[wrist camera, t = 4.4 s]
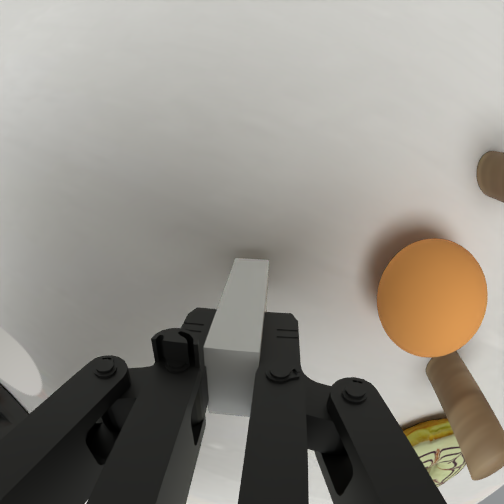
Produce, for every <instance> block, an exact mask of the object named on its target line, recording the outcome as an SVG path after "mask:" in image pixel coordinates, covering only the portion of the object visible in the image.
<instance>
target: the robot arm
mask: <svg viewBox="0 0 504 504" xmlns="http://www.w3.org/2000/svg"><path fill="white" fill-rule="evenodd" d="M268 273H269V260H262V259H245V258H235V261H234V264H233V266H232V269H231V272H230V275H229V277H228V280H227V283H226V286H225V288H224V291H223V294H222V297H221V300H220V302H219V305H218V308H217V309H207V308H196V309H194V310H193V311H192V312H190V313H189V314H188V315H187V317H186V319H185V321H184V324H183V325H182V327H181V328H171V329H166V330H162V331H160V332H158V333H156V334H155V335H154V336H153V337H152V338H151V340H152V346H153V352H154V358H155V363H154V365H153V366H150V367H144V368H128V367H127V364H126V363H125V361H124V360H122V359H121V358H119V357H116V356H101V357H98V358H95V359H94V360H92V361H90V362H89V363H88V364H87V365H86V366H84V367H83V368H82V369H81V370H80V371H79V372H77V373H76V374H75V375H74V376H73V377H72V378H70V379H69V380H68V381H67V382H66V383H65V384H63V385H62V386H61V387H60V388H59V389H58V390H57V391H55V392H54V393H53V394H52V395H51V396H50V397H49V398H47V399H46V400H45V401H44V402H43V403H42V404H41V405H39V406H38V407H37V408H36V409H35V410H34V411H33V412H31V413H30V414H29V415H28V414H27V413H26V412H25V410H24V409H23V408H22V407H21V406H20V405H19V404H18V402H17V401H16V400H15V399H14V398H13V397H12V396H11V395H10V394H9V393H8V392H7V391H6V390H5V389H4V388H3V387H2V386H1V385H0V504H84V503H85V502H86V501H87V500H88V502H87V504H186V501H187V497H188V493H189V489H190V485H191V481H192V477H193V473H194V469H195V465H196V461H197V457H198V453H199V450H200V446H201V442H202V438H203V434H204V430H205V426H206V419H205V412H206V408H207V405H208V411H209V413H217V414H226V415H235V416H246V417H250V420H249V427H248V435H247V442H246V449H245V457H244V464H243V471H242V478H241V485H240V492H239V499H238V504H309V503H308V453H307V449H310V450H314V451H315V455H316V458H317V460H318V463H319V466H320V468H321V471H322V474H323V477H324V479H325V482H326V485H327V487H328V490H329V493H330V495H331V498H332V501H333V503H334V504H447V503H446V501H445V500H444V498H443V496H442V495H441V493H440V491H439V489H438V488H437V486H436V484H435V483H434V481H433V479H432V478H431V476H430V474H429V473H428V471H427V469H426V468H425V466H424V465H423V463H422V461H421V460H420V458H419V456H418V455H417V453H416V451H415V450H414V448H413V447H412V445H411V443H410V442H409V440H408V438H407V437H406V435H405V434H404V432H403V430H402V429H401V427H400V426H399V424H398V422H397V421H396V419H395V418H394V416H393V414H392V413H391V411H390V410H389V408H388V407H387V405H386V403H385V402H384V400H383V399H382V397H381V396H380V394H379V392H378V391H377V389H376V388H375V387H374V386H373V385H372V384H371V383H369V382H367V381H365V380H364V379H359V378H355V377H351V378H343V379H340V380H338V381H337V382H335V383H334V384H333V385H332V386H328V385H324V384H320V383H318V382H315V381H313V380H311V379H309V378H308V377H307V376H306V375H305V374H304V373H303V371H302V369H301V365H300V348H299V332H298V321H297V320H296V318H295V317H294V316H293V315H292V314H291V313H273V312H266V308H267V290H268Z"/></svg>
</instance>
